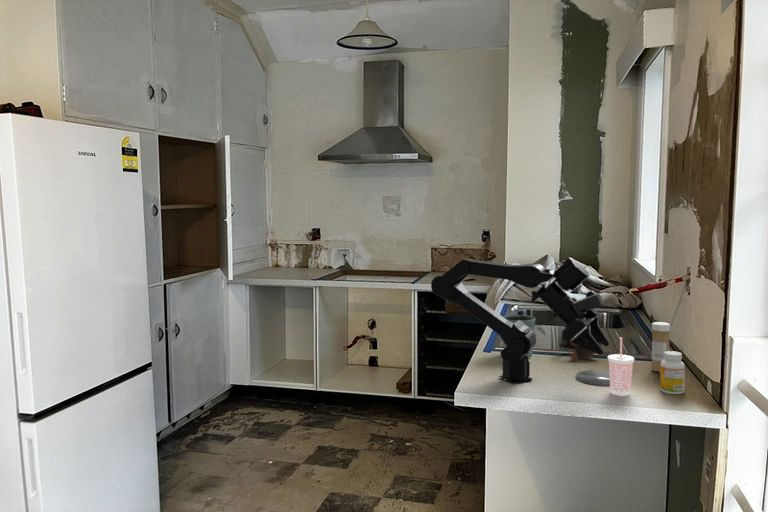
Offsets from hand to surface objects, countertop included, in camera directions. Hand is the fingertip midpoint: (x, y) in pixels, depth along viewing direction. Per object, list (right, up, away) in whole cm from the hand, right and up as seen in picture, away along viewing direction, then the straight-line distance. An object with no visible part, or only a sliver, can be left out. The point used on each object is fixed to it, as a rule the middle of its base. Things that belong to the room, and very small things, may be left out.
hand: (605, 349), depth 149 cm
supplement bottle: (+16, -11, 0) cm, 20 cm away
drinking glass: (-13, -8, +36) cm, 40 cm away
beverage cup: (+3, -11, -1) cm, 11 cm away
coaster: (+3, -10, +11) cm, 15 cm away
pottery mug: (+5, -8, +33) cm, 35 cm away
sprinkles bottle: (+22, -9, +17) cm, 29 cm away
